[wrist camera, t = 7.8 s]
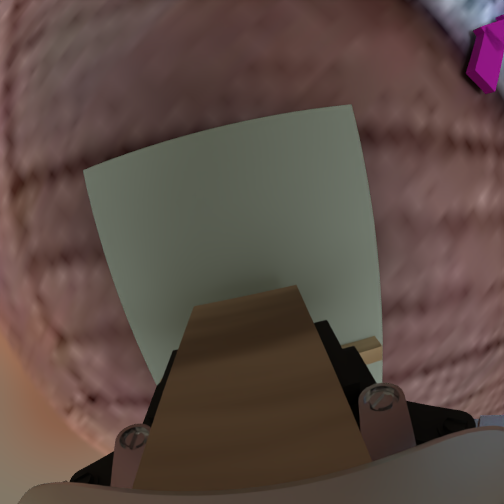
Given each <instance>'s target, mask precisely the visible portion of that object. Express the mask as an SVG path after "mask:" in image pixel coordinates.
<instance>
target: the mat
mask: <svg viewBox="0 0 504 504" xmlns="http://www.w3.org/2000/svg"><path fill="white" fill-rule="evenodd" d="M83 173H84V177H85V182H86V186H87V191H88V195H89V199H90V203H91V207H92V211H93V215H94V219H95V223H96V226H97V230H98V233H99V237H100V240H101V244H102V247H103V250H104V254H105V257H106V260H107V263H108V266H109V269H110V272H111V275H112V278H113V281H114V284H115V287H116V290H117V293H118V295H119V298H120V301H121V303H122V306H123V309H124V311H125V314H126V317H127V319H128V322H129V324H130V327H131V329H132V331H133V334H134V336H135V339H136V341H137V343H138V346H139V348H140V350H141V353H142V355H143V357H144V359H145V361H146V364H147V366H148V368H149V370H150V372H151V374H152V377H153V379H154V381H155V383H156V385H158V383H160V380H161V379H162V378H163V375H164V372H165V370H166V367H167V364H168V362H169V359H170V357H171V354H172V351H173V350H177V349H178V348H179V345H180V343H181V340H182V337H183V334H184V332H185V329H186V326H187V323H188V321H189V318H190V315H191V313H192V310H193V307H194V306H198V305H203V304H208V303H213V302H218V301H223V300H228V299H233V298H238V297H242V296H247V295H252V294H256V293H261V292H266V291H270V290H275V289H279V288H284V287H288V286H292V285H297V287H298V289H299V292H300V294H301V296H302V298H303V300H304V303H305V305H306V307H307V309H308V311H309V314H310V316H311V318H312V320H313V323H315V322H319V321H323V320H327V321H328V322H329V324H330V326H331V328H332V330H333V332H334V334H335V336H336V337H337V339H338V341H339V343H340V345H344V344H348V343H352V342H355V341H359V340H362V339H365V338H369V337H372V336H375V337H376V338H377V339H378V341H379V342H380V343H381V345H382V308H381V289H380V275H379V263H378V253H377V243H376V234H375V226H374V218H373V211H372V204H371V198H370V191H369V185H368V179H367V174H366V168H365V163H364V158H363V153H362V148H361V143H360V138H359V134H358V129H357V125H356V121H355V117H354V113H353V109H352V105H342V106H333V107H324V108H317V109H310V110H303V111H296V112H290V113H284V114H278V115H273V116H267V117H262V118H257V119H252V120H247V121H243V122H238V123H234V124H229V125H225V126H221V127H216V128H212V129H208V130H204V131H201V132H197V133H193V134H189V135H186V136H182V137H179V138H175V139H172V140H168V141H165V142H162V143H159V144H155V145H152V146H149V147H146V148H143V149H140V150H137V151H134V152H131V153H128V154H125V155H122V156H119V157H117V158H114V159H111V160H109V161H106V162H103V163H101V164H98V165H95V166H93V167H90V168H88V169H85V170H83ZM382 356H383V348H382ZM366 366H367V367H368V369H369V371H370V372H371V374H372V376H373V378H374V379H375V381H376V383H382V360H380V361H377V362H374V363H371V364H368V365H366Z"/></svg>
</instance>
